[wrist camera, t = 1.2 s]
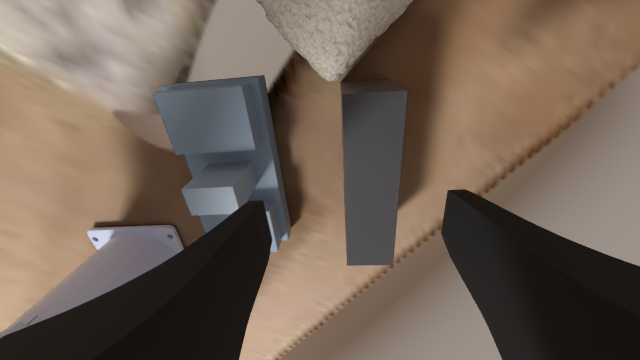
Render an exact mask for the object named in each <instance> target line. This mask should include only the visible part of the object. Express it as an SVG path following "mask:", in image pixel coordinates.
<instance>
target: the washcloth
mask: <svg viewBox="0 0 640 360" xmlns="http://www.w3.org/2000/svg"><path fill="white" fill-rule="evenodd" d="M256 1H257V2H258V3H260V4H261V5H262V6H263V8H264V10H265V11H266V17H267V19H268V20H269V21H270V22H271V23H272V24H274V26H275V28H277V29H278V31H279V32H280V33H281V34H282V35H283V36H284V39H285V40H287V41H288V42H289V43H290V44H291V47H292V48H294V49H295V50H296V51H297V52H298V53H299V54H300V55H301V56H302V57H304V58H305V59H307V61H308V62H309V64H310V65H311V66H312V68H313V69H314V70H316V71H317V72H318V74H319V75H320V76H321V77H322V78H323V79H325V80H327V81H329V82H330V81H333V80H334V81H336V80H337V79H338V78H339V77H340V74H343V73H344V72H345V71H347V67H348V66H349V65H351V64H353V63H354V62H355V60H356V59H357V58H358V57H359V56H360V55H361V54H362V53H364V51H365V50H366V49H367V48H368V46H369V45H370V44H371V43H372V42H373V40H374V39H375V38H376V37H378V36H380V35H382V34H383V33H384V32H385V31H386V30H387V29H388V27H389V25H390V24H391V23H393V22H394V21H396V20H397V19H398V17H399V16H400V15H402V14H403V13H404V11H405V10H406V8H407V7H408V5H409V4H410V3H411V2H412V1H413V0H256Z"/></svg>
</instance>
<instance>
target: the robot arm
mask: <svg viewBox="0 0 640 360" xmlns="http://www.w3.org/2000/svg"><path fill="white" fill-rule="evenodd" d="M441 233H442V236H443V239H444V242H445V244H446V247H447V249H448V252H449V255H450V257H451V259H452V261H453V263H454V264H455V266H456V268H457V270H458V272H459V274H460V275H461V277H462V279H463V281H464V283H465V284H466V286H467V288H468V290H469V291H470V293H471V295H472V297H473V299H474V301H475V302H476V304H477V306H478V308H479V309H480V311H481V313H482V315H483V317H484V319H485V321H486V323H487V325H488V327H489V329H490V332H491V334H492V336H493V339H494V341H495V343H496V345H497V348H498V350H499V353H500V355H501V357H502V360H640V266H637V265H634V264H631V263H628V262H625V261H622V260H620V259H617V258H614V257H611V256H609V255H606V254H603V253H601V252H598V251H596V250H593V249H591V248H588V247H586V246H583V245H581V244H578V243H576V242H573V241H571V240H568V239H566V238H564V237H561V236H559V235H557V234H555V233H552V232H550V231H548V230H546V229H544V228H542V227H540V226H537V225H535V224H533V223H531V222H529V221H527V220H525V219H523V218H521V217H519V216H517V215H515V214H513V213H511V212H509V211H507V210H505V209H503V208H501V207H500V206H498V205H496V204H494V203H492V202H490V201H488V200H486V199H484V198H482V197H480V196H478V195H476V194H474V193H472V192H470V191H467V190H465V189H464V190H448V193H447V199H446V206H445V212H444V219H443V225H442V231H441ZM87 234H88V236H89V237H90V239H91V240H92V242H93V244H94V245H95V247H96V248H97V250H98V251H96V252H95V253H94V254H93V255H92V256H91V257H89V258H88V259H87V260H86V261H85V262H84V263H82V264H81V265H80V266H79V267H78V268H77V269H75V270H74V271H73V272H72V273H71V274H70V275H69V276H67V277H66V278H65V279H64V280H63V281H62V282H60V283H59V284H58V285H57V286H56V287H55V288H53V289H52V290H51V291H50V292H49V293H48V294H46V295H45V296H44V297H43V298H42V299H41V300H39V301H38V302H37V303H36V304H35V305H34V306H32V307H31V308H30V309H29V310H28V311H27V312H25V313H24V314H23V315H22V316H21V317H20V318H19V319H17V320H16V321H15V322H14V323H13V324H12V325H10V326H9V327H8V328H7V329H5V330H4V331H2V332H0V360H239V357H240V352H241V348H242V344H243V340H244V335H245V331H246V327H247V324H248V320H249V317H250V314H251V311H252V308H253V305H254V302H255V299H256V296H257V293H258V290H259V287H260V285H261V282H262V279H263V276H264V273H265V270H266V267H267V264H268V260H269V255H270V250H271V245H272V236H271V231H270V227H269V223H268V219H267V215H266V210H265V206H264V202H263V200H261V201H248V202H247V203H245V204H244V205H242V206H241V207H240V208H238V209H237V210H236V211H234V212H233V213H232V214H231V215H229V216H228V217H227V218H226V219H224V220H223V221H222V222H221V223H219V224H218V225H217V226H215V227H214V228H213V229H212V230H210V231H209V232H207V233H206V234H205V235H203V236H202V237H200V238H199V239H198V240H196V241H195V242H194V243H192V244H191V245H189V246H188V247H186V248H185V249H184V247H183V245H182V242H181V240H180V238H179V236H178V233H177V231H176V229H175V228H174V227H173V226H171V225H152V226H127V227H102V228H91V229H90V230H88V231H87Z"/></svg>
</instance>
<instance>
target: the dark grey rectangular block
mask: <svg viewBox="0 0 640 360" xmlns="http://www.w3.org/2000/svg"><path fill="white" fill-rule="evenodd" d="M407 92H408V90H407V89H405V88H403V87H402V86H400V85H399V84H397V83H395V82H394V81H392V80H391V79H379V80H365V81H350V82H341V111H342V142H343V162H344V204H345V231H346V251H347V265H393V259H394V247H395V235H396V223H397V211H398V200H399V188H400V176H401V164H402V152H403V140H404V128H405V116H406V104H407Z"/></svg>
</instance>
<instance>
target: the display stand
mask: <svg viewBox="0 0 640 360" xmlns="http://www.w3.org/2000/svg"><path fill="white" fill-rule="evenodd" d="M160 89H161V92H158V93H155V94H153V96H154V99H155V101H156V104H157V107H158V109H159V112H160V115H161V117H162V120H163V123H164V125H165V128H166V130H167V133H168V136H169V138H170V141H171V144H172V146H173V149H174V152H175V154H176V155H184V156H185V159H186V161H187V164H188V167H189V170H190V173H191V175H192V178H193V179H192V180H191V181H189V182H188V183H187V184H186V185H185V186H184V187H183V188H182V189H181V191H182V193H183V196H184V198H185V201H186V203H187V206H188V208H189V211H190V213H191V216H194V215H199V218H200V220H201V223H202V226H203V228H204V231H205V234H206V233H207V232H209V231H210V230H212V229H213V228H214V227H215V226H217V225H218V224H219V223H221V222H222V221H223V220H224V219H226V218H227V217H228V216H229V215H231V214H232V213H233V212H234V211H236V210H237V209H238V208H240V207H241V206H242V205H244V204H245V203H247V202H248V201H261V200H263V202H264V206H265V210H266V215H267V219H268V223H269V227H270V231H271V236H272V245H271V250H270V252H278V250H279V246H280V243H281V240H288V239H289V235H290V231H291V224H290V218H289V212H288V207H287V201H286V195H285V190H284V184H283V178H282V173H281V167H280V162H279V156H278V150H277V145H276V139H275V133H274V128H273V122H272V116H271V111H270V105H269V100H268V94H267V88H266V83H265V78H264V75H262V76H252V77H241V78H229V79H219V80H208V81H197V82H186V83H175V84H170V85H166V86H162V87H160Z"/></svg>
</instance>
